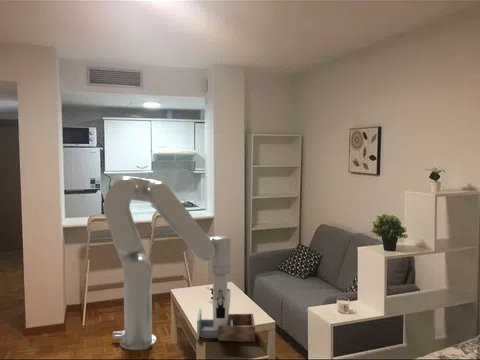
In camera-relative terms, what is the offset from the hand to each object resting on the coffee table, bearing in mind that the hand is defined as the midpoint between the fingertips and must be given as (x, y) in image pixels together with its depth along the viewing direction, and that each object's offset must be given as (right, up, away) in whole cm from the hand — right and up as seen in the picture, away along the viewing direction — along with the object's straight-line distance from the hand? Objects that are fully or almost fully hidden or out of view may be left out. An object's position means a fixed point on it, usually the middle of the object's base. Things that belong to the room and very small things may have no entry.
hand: (220, 313), depth 153 cm
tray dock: (+6, -9, +1) cm, 11 cm away
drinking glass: (0, -6, 0) cm, 6 cm away
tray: (-2, -7, 0) cm, 8 cm away
